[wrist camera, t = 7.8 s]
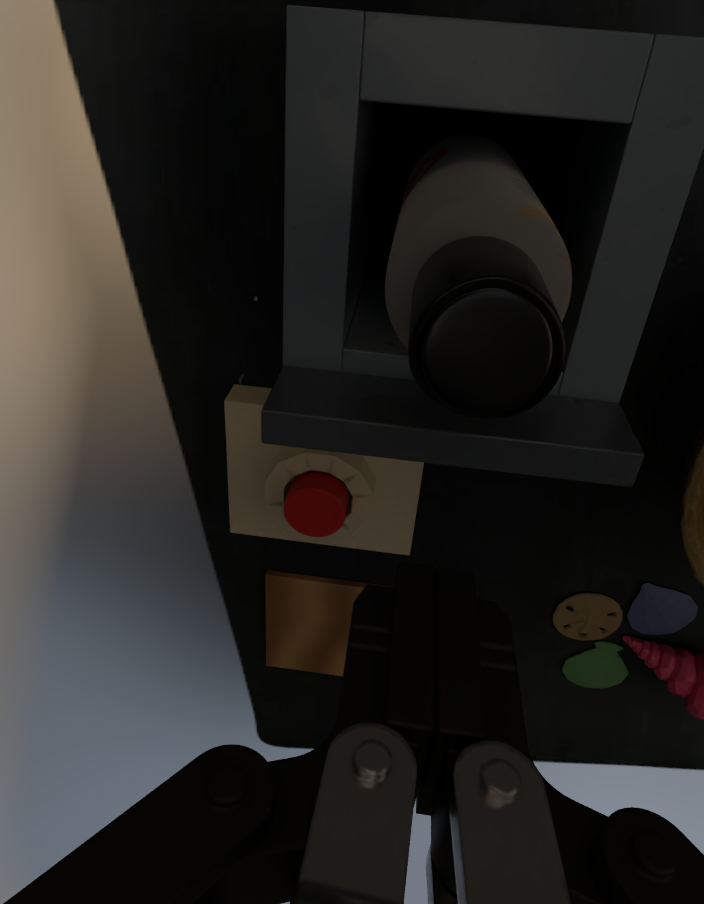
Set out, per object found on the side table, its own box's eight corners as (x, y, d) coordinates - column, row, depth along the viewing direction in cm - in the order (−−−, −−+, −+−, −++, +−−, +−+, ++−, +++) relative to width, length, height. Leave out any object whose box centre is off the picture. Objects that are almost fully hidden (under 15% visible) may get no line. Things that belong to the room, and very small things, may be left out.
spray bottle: (385, 221, 33) (330, 404, 17) (440, 109, 30) (440, 193, 14) (481, 271, 34) (522, 494, 17) (544, 167, 31) (666, 313, 14)
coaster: (267, 659, 53) (265, 665, 52) (267, 569, 47) (265, 575, 47) (389, 676, 52) (388, 683, 52) (402, 587, 47) (402, 593, 46)
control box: (238, 512, 45) (222, 550, 42) (234, 383, 39) (215, 415, 36) (410, 534, 44) (408, 574, 41) (430, 406, 39) (429, 440, 35)
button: (288, 515, 40) (283, 533, 38) (289, 467, 38) (283, 484, 36) (346, 522, 40) (343, 541, 38) (350, 474, 38) (347, 492, 36)
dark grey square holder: (318, 314, 36) (260, 444, 25) (330, 15, 29) (256, -3, 17) (569, 340, 36) (633, 488, 24) (650, 40, 28) (801, 40, 16)
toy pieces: (745, 588, 43) (773, 639, 40) (696, 695, 49) (717, 747, 46) (562, 573, 44) (573, 622, 41) (536, 679, 51) (544, 730, 47)
